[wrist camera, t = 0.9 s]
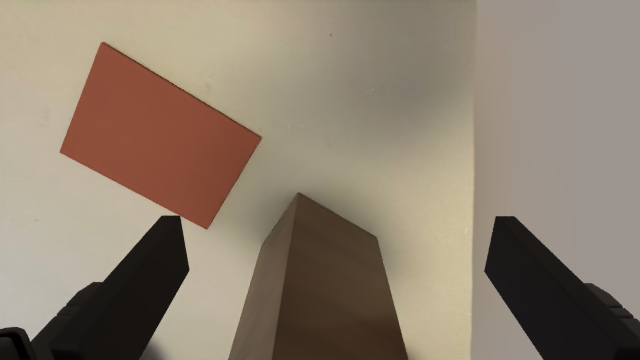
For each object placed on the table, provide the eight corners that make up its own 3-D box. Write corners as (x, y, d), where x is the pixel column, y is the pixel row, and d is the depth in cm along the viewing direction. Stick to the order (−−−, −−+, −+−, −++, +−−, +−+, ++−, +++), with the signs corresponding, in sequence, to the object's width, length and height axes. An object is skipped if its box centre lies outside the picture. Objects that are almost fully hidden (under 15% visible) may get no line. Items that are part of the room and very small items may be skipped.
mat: (103, 42, 31) (100, 42, 31) (261, 137, 35) (261, 138, 34) (62, 151, 35) (59, 152, 35) (207, 227, 39) (206, 229, 38)
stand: (298, 191, 37) (231, 617, 10) (376, 237, 39) (496, 695, 12) (260, 247, 39) (126, 703, 13) (336, 287, 41) (359, 754, 15)
